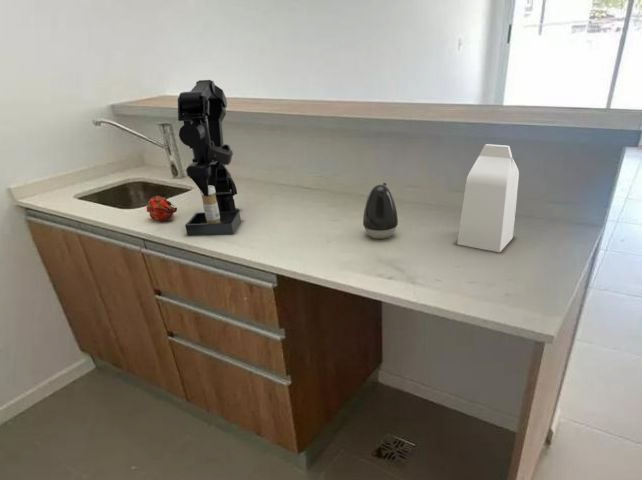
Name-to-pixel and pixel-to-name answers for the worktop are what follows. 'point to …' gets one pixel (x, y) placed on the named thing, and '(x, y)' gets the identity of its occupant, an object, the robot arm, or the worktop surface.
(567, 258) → the worktop surface
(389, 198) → the black egg-shaped piece
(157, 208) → the dragon fruit
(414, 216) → the worktop surface
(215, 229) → the rectangular frame
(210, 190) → the sprinkles bottle
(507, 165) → the milk
